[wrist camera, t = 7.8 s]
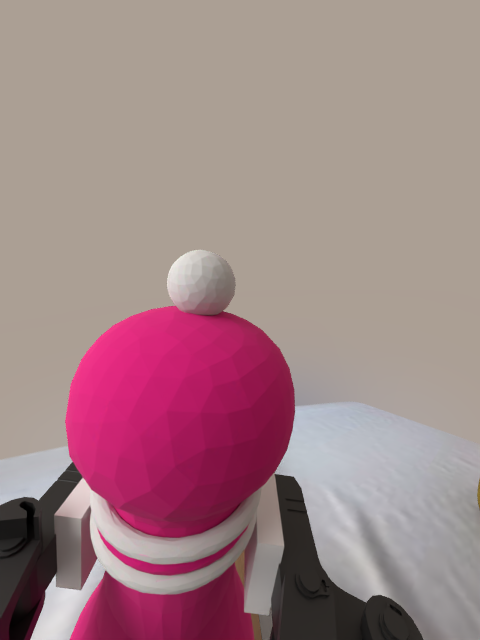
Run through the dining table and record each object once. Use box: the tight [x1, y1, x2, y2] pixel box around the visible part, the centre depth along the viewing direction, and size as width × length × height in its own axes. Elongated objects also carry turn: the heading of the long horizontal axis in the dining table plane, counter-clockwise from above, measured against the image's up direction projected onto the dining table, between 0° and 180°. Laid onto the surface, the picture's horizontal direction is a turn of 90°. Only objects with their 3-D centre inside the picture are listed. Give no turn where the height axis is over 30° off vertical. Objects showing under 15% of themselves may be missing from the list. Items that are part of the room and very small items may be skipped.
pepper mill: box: [65, 250, 295, 640], centre depth 9 cm, size 7×7×20 cm
